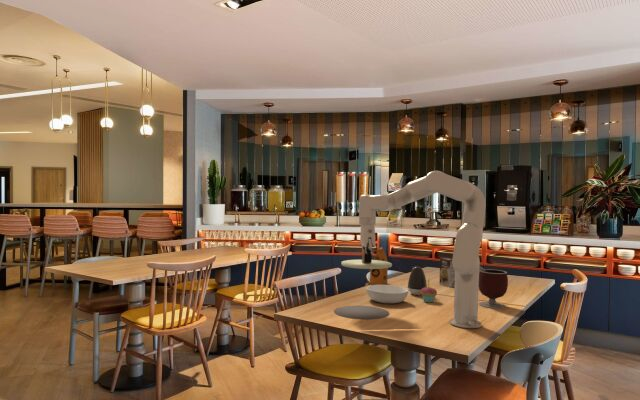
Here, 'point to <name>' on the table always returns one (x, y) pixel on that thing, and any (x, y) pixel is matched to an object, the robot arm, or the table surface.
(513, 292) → the table surface
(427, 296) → the cupcake
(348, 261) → the lid
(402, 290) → the serving bowl
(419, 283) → the smart speaker
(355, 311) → the mat
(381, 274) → the coffee package
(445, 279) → the coffee box
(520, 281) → the table surface
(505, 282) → the mate gourd
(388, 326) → the table surface
